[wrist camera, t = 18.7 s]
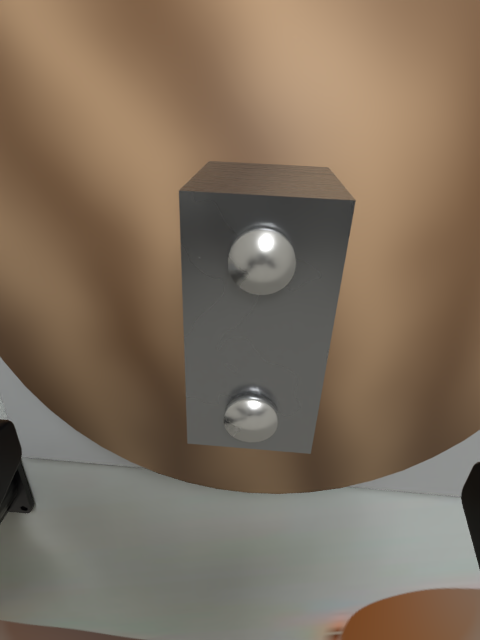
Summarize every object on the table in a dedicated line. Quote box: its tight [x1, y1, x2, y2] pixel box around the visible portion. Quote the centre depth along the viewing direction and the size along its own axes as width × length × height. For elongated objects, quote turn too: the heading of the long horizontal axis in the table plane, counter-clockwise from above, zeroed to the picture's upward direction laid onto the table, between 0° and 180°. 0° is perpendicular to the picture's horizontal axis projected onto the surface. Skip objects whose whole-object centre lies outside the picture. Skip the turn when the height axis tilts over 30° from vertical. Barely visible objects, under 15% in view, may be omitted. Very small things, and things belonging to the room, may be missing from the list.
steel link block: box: [179, 161, 356, 454], centre depth 13 cm, size 8×4×5 cm, turn 178°
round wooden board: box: [0, 0, 480, 494], centre depth 15 cm, size 25×25×5 cm
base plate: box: [0, 357, 480, 497], centre depth 16 cm, size 28×28×4 cm
